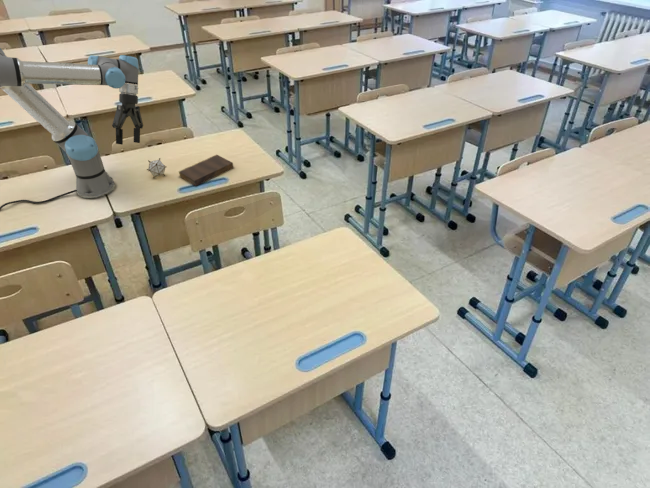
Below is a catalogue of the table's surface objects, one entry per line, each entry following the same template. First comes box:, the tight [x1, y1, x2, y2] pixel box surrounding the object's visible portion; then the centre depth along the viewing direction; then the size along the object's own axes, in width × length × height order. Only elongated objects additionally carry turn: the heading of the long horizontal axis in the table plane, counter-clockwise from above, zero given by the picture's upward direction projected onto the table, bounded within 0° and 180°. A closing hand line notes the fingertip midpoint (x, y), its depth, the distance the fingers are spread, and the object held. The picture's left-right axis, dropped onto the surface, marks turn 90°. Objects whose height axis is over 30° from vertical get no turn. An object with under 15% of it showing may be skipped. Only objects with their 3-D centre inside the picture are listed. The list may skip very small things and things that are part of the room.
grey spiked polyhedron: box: [146, 157, 167, 179], centre depth 207 cm, size 9×8×10 cm
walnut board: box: [178, 154, 234, 187], centre depth 212 cm, size 22×12×3 cm, turn 139°
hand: (128, 143), depth 203 cm, fingers open, 13 cm apart
